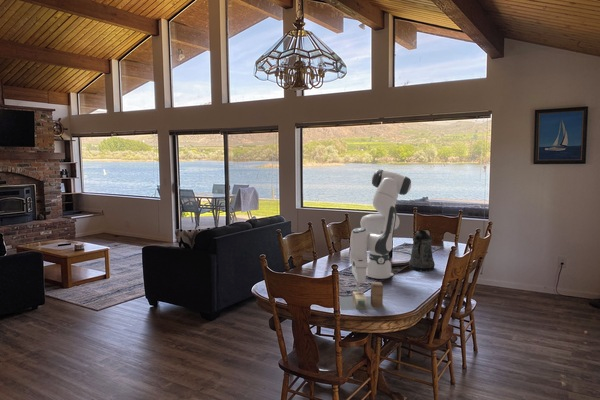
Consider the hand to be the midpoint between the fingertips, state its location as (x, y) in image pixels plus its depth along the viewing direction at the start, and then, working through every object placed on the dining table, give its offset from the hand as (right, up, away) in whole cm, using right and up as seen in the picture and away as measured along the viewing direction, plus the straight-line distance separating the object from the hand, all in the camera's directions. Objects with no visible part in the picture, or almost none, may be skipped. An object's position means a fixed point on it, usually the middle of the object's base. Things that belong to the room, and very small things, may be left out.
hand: (357, 286), depth 224 cm
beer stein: (+51, -1, +63) cm, 81 cm away
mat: (+1, -9, -2) cm, 9 cm away
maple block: (0, -5, +1) cm, 5 cm away
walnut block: (+9, -9, -5) cm, 13 cm away
